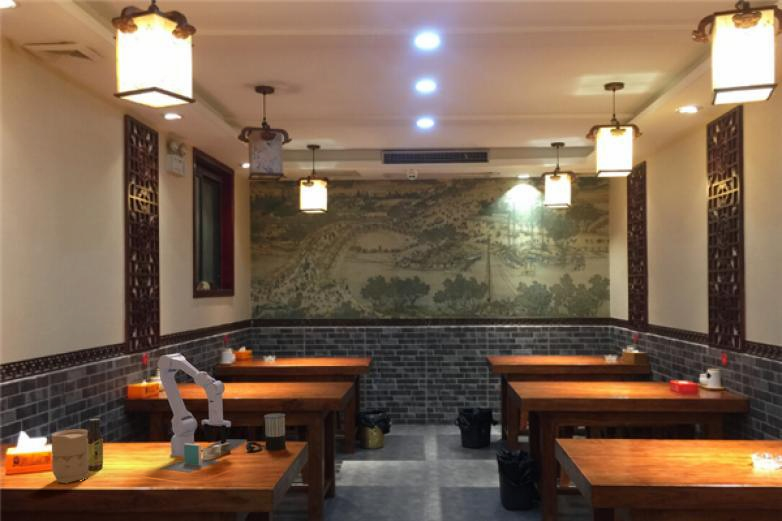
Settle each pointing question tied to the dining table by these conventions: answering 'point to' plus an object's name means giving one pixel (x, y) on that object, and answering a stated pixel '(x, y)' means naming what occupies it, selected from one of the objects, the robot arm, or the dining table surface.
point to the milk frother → (271, 433)
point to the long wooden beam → (216, 451)
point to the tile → (192, 454)
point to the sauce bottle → (95, 445)
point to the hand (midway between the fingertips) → (216, 442)
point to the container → (70, 455)
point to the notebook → (233, 442)
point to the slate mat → (189, 466)
